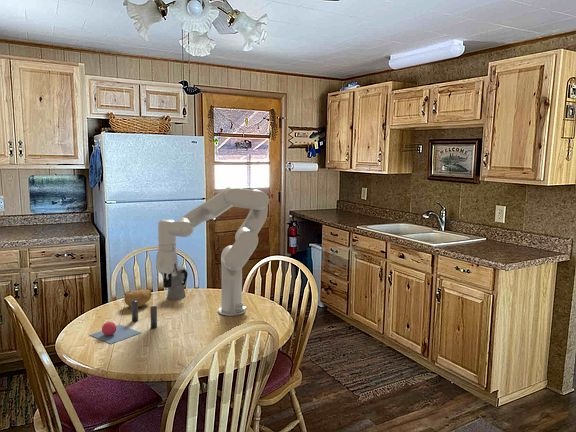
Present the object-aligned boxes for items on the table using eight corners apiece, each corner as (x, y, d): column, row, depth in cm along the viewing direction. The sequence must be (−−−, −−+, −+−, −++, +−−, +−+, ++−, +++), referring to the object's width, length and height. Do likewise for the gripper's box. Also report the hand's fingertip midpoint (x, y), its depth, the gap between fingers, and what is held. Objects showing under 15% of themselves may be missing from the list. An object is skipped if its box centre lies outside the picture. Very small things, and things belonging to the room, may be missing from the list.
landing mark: (141, 332, 182) (141, 332, 182) (110, 344, 171) (110, 343, 171) (120, 325, 190) (120, 324, 190) (89, 335, 179) (89, 334, 179)
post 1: (139, 320, 196) (139, 300, 195) (134, 322, 194) (134, 302, 193) (135, 319, 197) (135, 299, 196) (130, 320, 195) (130, 301, 194)
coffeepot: (160, 296, 230) (160, 262, 228) (175, 292, 238) (175, 259, 235) (179, 302, 221) (179, 267, 219) (194, 298, 228) (194, 264, 226)
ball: (110, 340, 177) (121, 330, 180) (104, 330, 174) (115, 320, 178) (103, 336, 180) (113, 326, 184) (96, 327, 177) (107, 317, 181)
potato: (156, 304, 217) (156, 288, 216) (132, 312, 206) (132, 295, 205) (143, 300, 223) (143, 285, 222) (119, 308, 211) (119, 291, 210)
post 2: (158, 327, 189) (158, 306, 188) (153, 329, 187) (153, 308, 186) (154, 325, 190) (154, 305, 189) (149, 327, 188) (149, 307, 187)
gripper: (149, 246, 200) (150, 285, 202) (172, 250, 191) (172, 292, 194) (162, 243, 206) (163, 282, 208) (185, 248, 197) (185, 288, 200)
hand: (167, 287), depth 201 cm, fingers closed
